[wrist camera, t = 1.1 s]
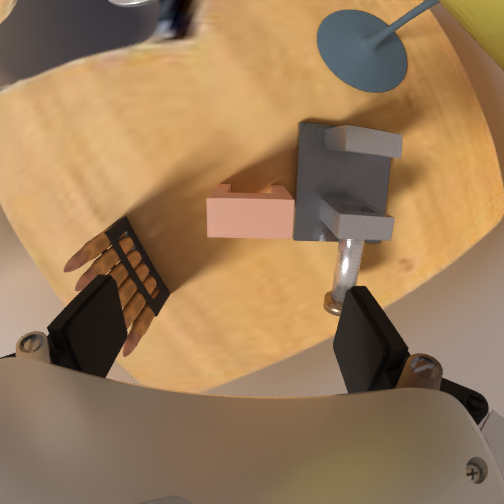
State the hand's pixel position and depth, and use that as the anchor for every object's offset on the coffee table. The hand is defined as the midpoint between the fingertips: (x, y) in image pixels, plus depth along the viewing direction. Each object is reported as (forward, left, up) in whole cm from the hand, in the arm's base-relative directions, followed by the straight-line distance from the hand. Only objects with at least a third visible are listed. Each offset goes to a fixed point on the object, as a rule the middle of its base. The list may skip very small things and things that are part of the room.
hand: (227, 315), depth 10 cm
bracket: (-3, +10, -19) cm, 22 cm away
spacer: (-1, +1, -19) cm, 19 cm away
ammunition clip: (+6, -12, -19) cm, 23 cm away
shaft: (+4, +10, -16) cm, 20 cm away
